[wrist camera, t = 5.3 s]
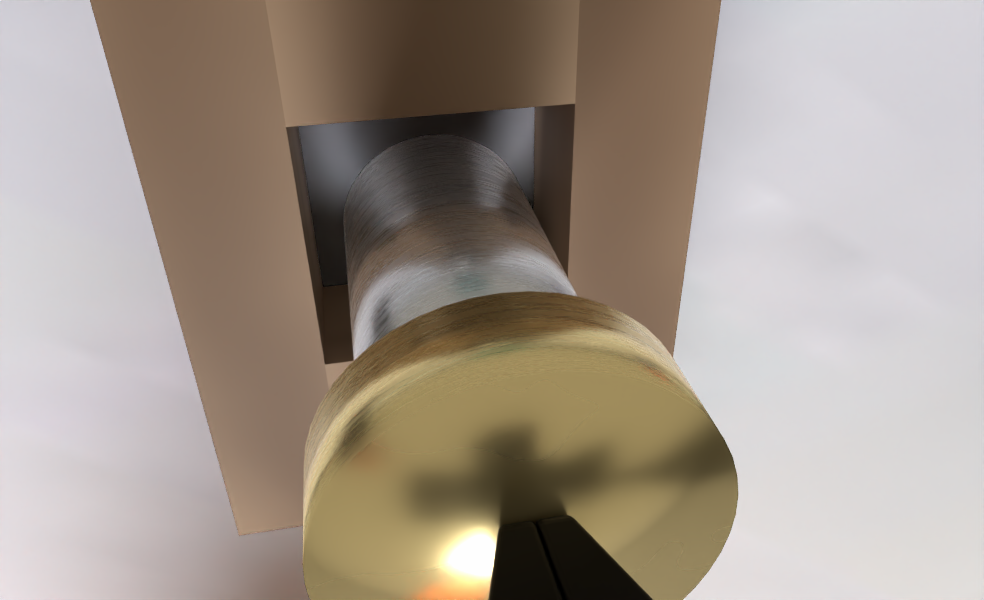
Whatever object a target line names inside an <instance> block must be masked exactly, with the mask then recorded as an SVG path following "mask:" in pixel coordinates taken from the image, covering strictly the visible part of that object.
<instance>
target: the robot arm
mask: <svg viewBox="0 0 984 600" xmlns="http://www.w3.org/2000/svg"><path fill="white" fill-rule="evenodd" d="M488 600H653V599H652V598H651V597H650V596H649V595H648V594H647V593H646V592H645V591H644V590H643V589H642V588H641V587H640V586H639V585H638V584H637V583H636V581H635V580H634V579H633V578H632V577H631V576H630V575H629V574H628V573H627V572H626V571H625V570H624V569H623V568H622V567H621V566H620V565H619V564H618V563H617V562H616V561H615V560H614V559H613V558H612V557H611V556H610V555H609V554H608V553H607V551H606V550H605V549H604V548H603V547H602V546H601V545H600V544H599V543H598V542H597V541H596V540H595V539H594V538H593V537H592V536H591V535H590V534H589V533H588V532H587V531H586V530H585V529H584V528H583V527H582V526H581V525H580V524H579V523H578V521H577V520H575V519H574V518H573V517H572V516H569V515H561V516H554V517H548V518H542V519H539V520H538V521H537V522H536V524H534V523H533V522H532V521H523V522H517V523H511V524H504V525H502V526H501V527H500V528H499V530H498V535H497V542H496V549H495V556H494V563H493V570H492V577H491V584H490V591H489V598H488Z"/></svg>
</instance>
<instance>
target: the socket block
mask: <svg viewBox="0 0 984 600" xmlns="http://www.w3.org/2000/svg"><path fill="white" fill-rule="evenodd" d="M90 2H91V5H92V9H93V13H94V16H95V20H96V23H97V27H98V31H99V34H100V38H101V41H102V45H103V49H104V52H105V56H106V59H107V63H108V67H109V70H110V74H111V77H112V81H113V84H114V88H115V92H116V95H117V99H118V102H119V106H120V110H121V113H122V117H123V120H124V124H125V128H126V131H127V135H128V138H129V142H130V145H131V149H132V153H133V156H134V160H135V163H136V167H137V171H138V174H139V178H140V181H141V185H142V189H143V192H144V196H145V199H146V203H147V206H148V210H149V214H150V217H151V221H152V224H153V228H154V232H155V235H156V239H157V242H158V246H159V250H160V253H161V257H162V260H163V264H164V268H165V271H166V275H167V278H168V282H169V285H170V289H171V293H172V296H173V300H174V303H175V307H176V311H177V314H178V318H179V321H180V325H181V329H182V332H183V336H184V339H185V343H186V346H187V350H188V354H189V357H190V361H191V364H192V368H193V372H194V375H195V379H196V382H197V386H198V390H199V393H200V397H201V400H202V404H203V408H204V411H205V415H206V418H207V422H208V425H209V429H210V433H211V436H212V440H213V443H214V447H215V451H216V454H217V458H218V461H219V465H220V469H221V472H222V476H223V479H224V483H225V486H226V490H227V494H228V497H229V501H230V504H231V508H232V512H233V515H234V519H235V522H236V526H237V530H238V533H239V536H240V535H246V534H252V533H259V532H265V531H272V530H278V529H285V528H291V527H298V526H303V484H304V455H305V445H306V441H307V437H308V433H309V429H310V425H311V423H312V421H313V419H314V416H315V414H316V412H317V409H318V407H319V405H320V403H321V402H322V400H323V399H324V397H325V395H326V394H327V392H328V391H329V389H330V388H331V386H332V384H333V383H334V382H335V381H336V380H337V379H338V377H339V376H340V375H341V374H342V373H343V371H344V370H345V369H346V368H347V367H348V366H349V365H350V364H351V363H352V362H353V361H354V358H353V345H352V331H351V318H350V305H349V291H348V284H345V285H336V286H328V287H323V284H322V278H321V271H320V265H319V258H318V252H317V245H316V239H315V233H314V226H313V220H312V213H311V207H310V200H309V194H308V187H307V181H306V174H305V168H304V162H303V155H302V149H301V142H300V136H299V129H298V126H306V125H318V124H331V123H343V122H355V121H367V120H380V119H392V118H404V117H417V116H429V115H441V114H454V113H466V112H478V111H491V110H503V109H515V108H527V107H535V137H534V207H533V212H534V214H535V215H536V217H537V219H538V221H539V223H540V225H541V227H542V229H543V231H544V233H545V235H546V237H547V239H548V240H549V242H550V244H551V246H552V248H553V250H554V252H555V254H556V256H557V258H558V260H559V262H560V263H561V265H562V267H563V269H564V271H565V273H566V275H567V277H568V279H569V281H570V283H571V285H572V287H573V288H574V290H575V292H576V294H577V296H578V297H583V298H587V299H590V300H593V301H596V302H599V303H602V304H605V305H608V306H610V307H612V308H614V309H616V310H618V311H620V312H622V313H625V314H627V315H628V316H630V317H631V318H633V319H634V320H636V321H637V322H639V323H640V324H642V325H643V326H645V327H646V328H647V329H648V330H649V331H650V332H651V333H652V334H653V335H654V336H655V337H656V338H658V339H659V340H660V341H661V343H662V344H663V345H664V347H665V348H666V349H667V351H668V352H669V353H670V355H671V356H672V357H673V352H674V345H675V338H676V330H677V323H678V315H679V308H680V301H681V293H682V286H683V279H684V271H685V264H686V256H687V249H688V242H689V234H690V227H691V219H692V212H693V205H694V197H695V190H696V183H697V175H698V168H699V160H700V153H701V146H702V138H703V131H704V124H705V116H706V109H707V101H708V94H709V87H710V79H711V72H712V65H713V57H714V50H715V42H716V35H717V28H718V20H719V13H720V6H721V0H90Z"/></svg>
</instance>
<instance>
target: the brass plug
mask: <svg viewBox="0 0 984 600" xmlns="http://www.w3.org/2000/svg"><path fill="white" fill-rule="evenodd" d="M343 223H344V238H345V251H346V265H347V278H348V291H349V305H350V318H351V331H352V345H353V358H354V361H353V362H352V363H351V364H350V365H349V366H348V367H347V368H346V369H345V370H344V371H343V373H342V374H341V375H340V376H339V377H338V379H337V380H336V381H335V382H334V383H333V384H332V386H331V388H330V389H329V391H328V392H327V394H326V395H325V397H324V399H323V400H322V402H321V403H320V405H319V407H318V409H317V412H316V414H315V416H314V419H313V421H312V423H311V425H310V429H309V433H308V437H307V441H306V445H305V455H304V484H303V572H304V581H305V587H306V590H307V593H308V596H309V599H310V600H488V598H489V591H490V584H491V577H492V570H493V563H494V556H495V549H496V542H497V535H498V530H499V528H500V527H501V526H502V525H504V524H511V523H517V522H523V521H532V522H533V523H534V524H536V522H537V521H538V520H539V519H542V518H548V517H554V516H561V515H569V516H572V517H573V518H574V519H575V520H577V521H578V523H579V524H580V525H581V526H582V527H583V528H584V529H585V530H586V531H587V532H588V533H589V534H590V535H591V536H592V537H593V538H594V539H595V540H596V541H597V542H598V543H599V544H600V545H601V546H602V547H603V548H604V549H605V550H606V551H607V553H608V554H609V555H610V556H611V557H612V558H613V559H614V560H615V561H616V562H617V563H618V564H619V565H620V566H621V567H622V568H623V569H624V570H625V571H626V572H627V573H628V574H629V575H630V576H631V577H632V578H633V579H634V580H635V581H636V583H637V584H638V585H639V586H640V587H641V588H642V589H643V590H644V591H645V592H646V593H647V594H648V595H649V596H650V597H651V598H652V599H653V600H683V599H684V598H685V597H686V596H687V595H688V594H689V593H690V592H691V591H692V590H693V589H694V588H695V587H696V586H697V585H698V583H699V582H700V581H701V580H702V578H703V577H704V576H705V575H706V574H707V572H708V571H709V570H710V568H711V567H712V565H713V564H714V562H715V561H716V559H717V557H718V556H719V554H720V553H721V551H722V549H723V547H724V545H725V542H726V540H727V538H728V536H729V534H730V531H731V528H732V525H733V521H734V518H735V515H736V508H737V500H738V480H737V473H736V469H735V465H734V461H733V457H732V455H731V453H730V451H729V448H728V446H727V444H726V442H725V440H724V438H723V437H722V435H721V434H720V432H719V430H718V429H717V427H716V426H715V424H714V422H713V421H712V419H711V418H710V416H709V415H708V413H707V411H706V410H705V408H704V407H703V405H702V403H701V402H700V400H699V399H698V397H697V395H696V394H695V392H694V391H693V389H692V388H691V386H690V384H689V383H688V381H687V380H686V378H685V376H684V375H683V373H682V372H681V370H680V369H679V367H678V365H677V364H676V362H675V361H674V359H673V357H672V356H671V355H670V353H669V352H668V351H667V349H666V348H665V347H664V345H663V344H662V343H661V341H660V340H659V339H658V338H656V337H655V336H654V335H653V334H652V333H651V332H650V331H649V330H648V329H647V328H646V327H645V326H643V325H642V324H640V323H639V322H637V321H636V320H634V319H633V318H631V317H630V316H628V315H627V314H625V313H622V312H620V311H618V310H616V309H614V308H612V307H610V306H608V305H605V304H602V303H599V302H596V301H593V300H590V299H587V298H583V297H578V296H577V294H576V292H575V290H574V288H573V287H572V285H571V283H570V281H569V279H568V277H567V275H566V273H565V271H564V269H563V267H562V265H561V263H560V262H559V260H558V258H557V256H556V254H555V252H554V250H553V248H552V246H551V244H550V242H549V240H548V239H547V237H546V235H545V233H544V231H543V229H542V227H541V225H540V223H539V221H538V219H537V217H536V215H535V214H534V212H533V210H532V208H531V206H530V204H529V202H528V200H527V198H526V196H525V194H524V192H523V191H522V189H521V187H520V185H519V183H518V181H517V179H516V177H515V176H514V174H513V172H512V171H511V169H510V168H509V167H508V165H507V164H506V163H505V162H504V161H503V160H502V159H501V158H500V157H499V156H498V155H497V154H495V153H494V152H493V151H491V150H490V149H489V148H487V147H485V146H483V145H481V144H480V143H477V142H475V141H472V140H469V139H467V138H462V137H458V136H452V135H426V136H419V137H415V138H411V139H408V140H405V141H402V142H400V143H397V144H395V145H393V146H391V147H390V148H388V149H386V150H384V151H383V152H381V153H380V154H379V155H377V156H376V157H375V158H373V159H372V160H371V161H370V162H369V163H368V164H367V165H366V166H365V167H364V169H363V170H362V171H361V172H360V174H359V175H358V176H357V178H356V180H355V181H354V183H353V185H352V187H351V189H350V191H349V194H348V196H347V200H346V204H345V208H344V218H343Z"/></svg>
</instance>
